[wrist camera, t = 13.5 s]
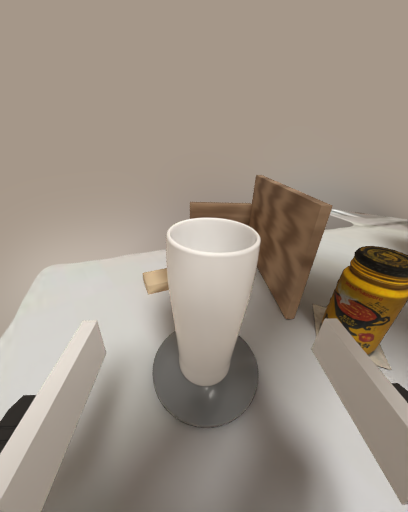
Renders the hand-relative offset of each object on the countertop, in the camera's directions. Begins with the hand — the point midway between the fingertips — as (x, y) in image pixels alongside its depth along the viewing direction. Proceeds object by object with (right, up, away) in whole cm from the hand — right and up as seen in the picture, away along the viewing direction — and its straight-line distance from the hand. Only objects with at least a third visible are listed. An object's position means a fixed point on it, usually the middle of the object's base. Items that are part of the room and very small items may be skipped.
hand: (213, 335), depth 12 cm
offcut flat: (-7, 0, +23) cm, 24 cm away
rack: (+4, +2, +27) cm, 27 cm away
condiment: (+18, -6, +15) cm, 24 cm away
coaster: (0, -7, +10) cm, 12 cm away
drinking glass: (-1, -7, +10) cm, 12 cm away
